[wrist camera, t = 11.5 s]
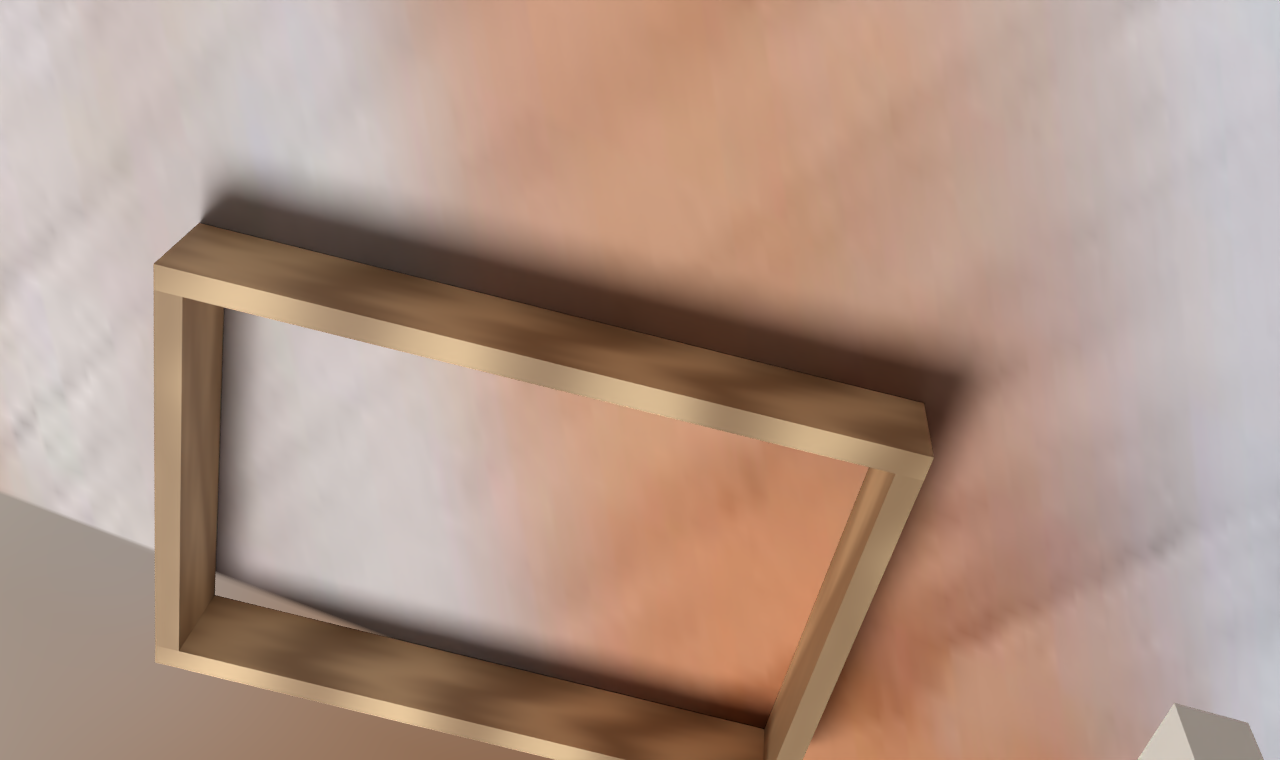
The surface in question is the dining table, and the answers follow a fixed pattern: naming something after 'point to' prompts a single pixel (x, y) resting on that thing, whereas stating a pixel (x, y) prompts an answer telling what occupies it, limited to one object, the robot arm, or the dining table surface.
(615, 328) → the tray rim
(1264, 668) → the dining table surface
